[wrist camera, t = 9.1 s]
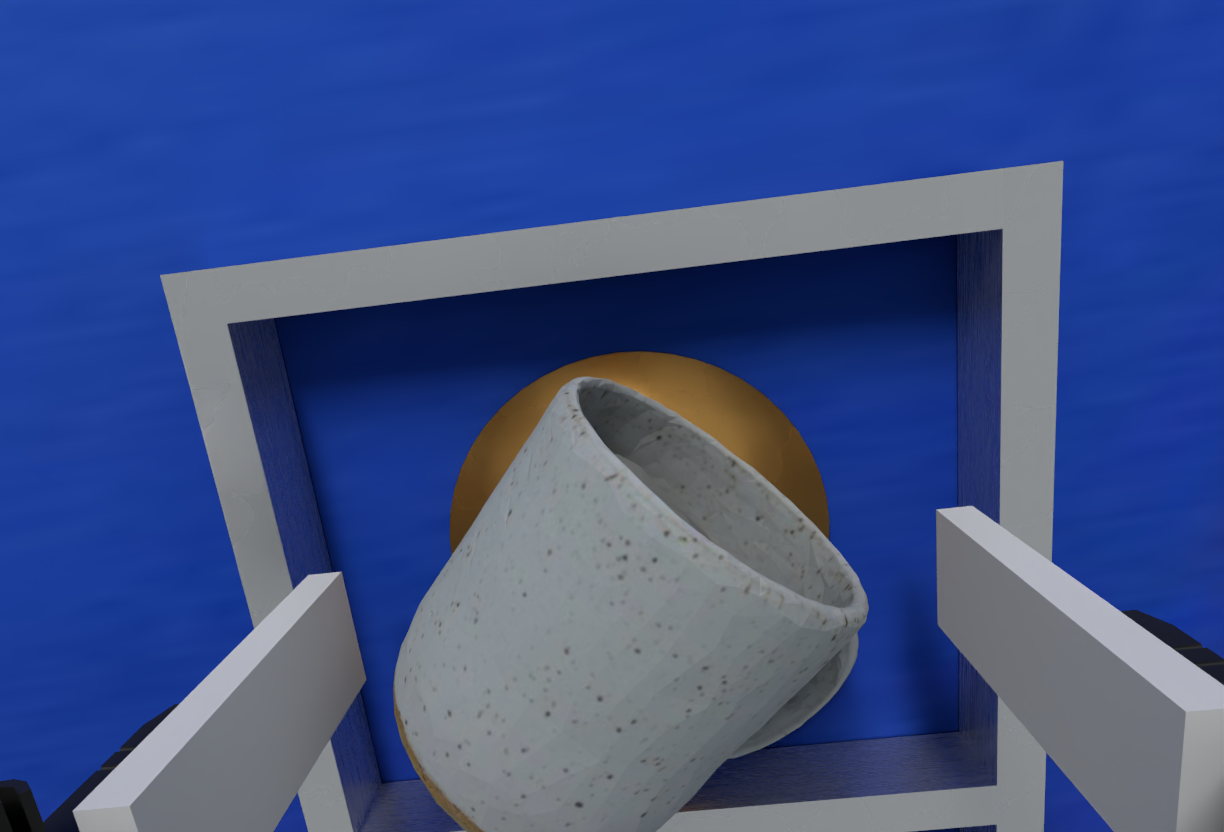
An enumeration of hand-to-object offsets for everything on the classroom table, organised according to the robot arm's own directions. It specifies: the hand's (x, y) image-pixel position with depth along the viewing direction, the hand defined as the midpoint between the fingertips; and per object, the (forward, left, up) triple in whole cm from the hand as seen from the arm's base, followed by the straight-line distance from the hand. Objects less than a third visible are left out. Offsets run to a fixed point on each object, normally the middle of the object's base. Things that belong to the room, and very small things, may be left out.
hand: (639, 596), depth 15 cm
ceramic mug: (+1, -1, -3) cm, 3 cm away
